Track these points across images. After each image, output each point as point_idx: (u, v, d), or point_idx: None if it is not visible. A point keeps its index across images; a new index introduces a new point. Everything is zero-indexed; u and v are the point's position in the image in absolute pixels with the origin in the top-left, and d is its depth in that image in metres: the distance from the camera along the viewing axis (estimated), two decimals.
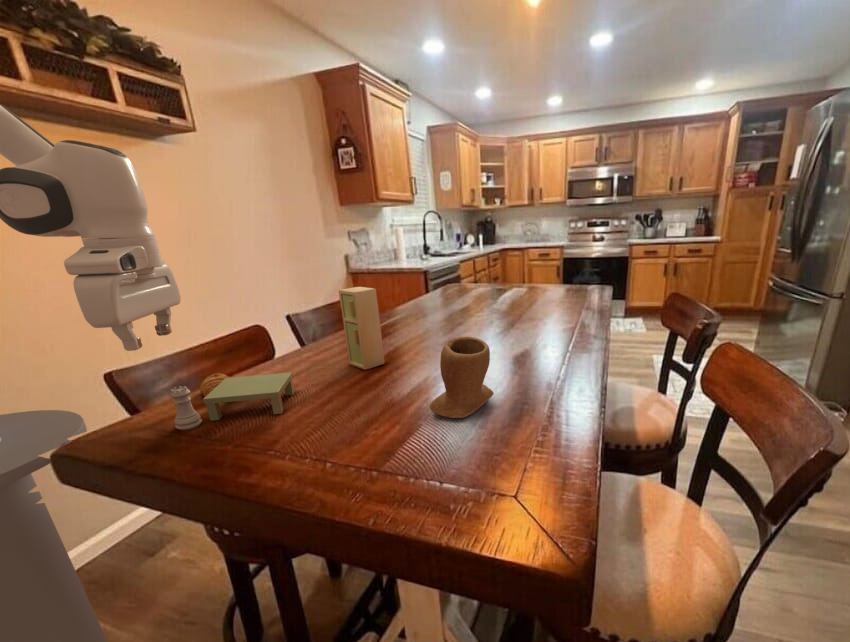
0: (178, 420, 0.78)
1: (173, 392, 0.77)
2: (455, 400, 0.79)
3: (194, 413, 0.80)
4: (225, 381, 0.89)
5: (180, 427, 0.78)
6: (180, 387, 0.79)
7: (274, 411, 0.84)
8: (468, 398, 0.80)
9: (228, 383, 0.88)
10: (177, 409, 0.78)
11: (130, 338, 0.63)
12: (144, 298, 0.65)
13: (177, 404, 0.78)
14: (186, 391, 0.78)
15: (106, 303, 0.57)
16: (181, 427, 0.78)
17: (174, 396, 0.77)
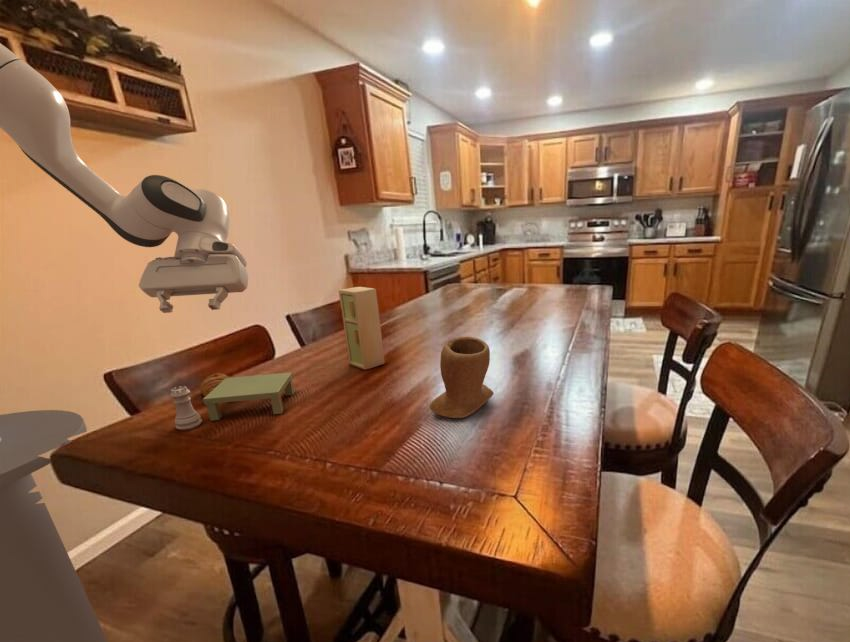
0: (178, 420, 0.78)
1: (173, 392, 0.77)
2: (455, 400, 0.79)
3: (194, 413, 0.80)
4: (225, 381, 0.89)
5: (180, 427, 0.78)
6: (180, 387, 0.79)
7: (274, 411, 0.84)
8: (468, 398, 0.80)
9: (228, 383, 0.88)
10: (177, 409, 0.78)
11: (221, 300, 0.86)
12: None
13: (177, 404, 0.78)
14: (186, 391, 0.78)
15: (247, 278, 0.89)
16: (181, 427, 0.78)
17: (174, 396, 0.77)
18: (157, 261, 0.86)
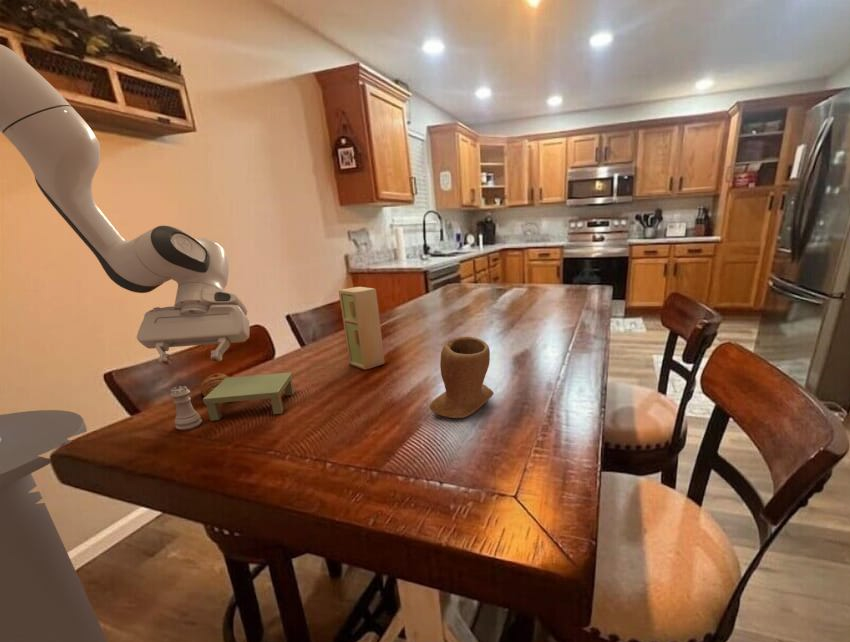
0: (178, 420, 0.78)
1: (173, 392, 0.77)
2: (455, 400, 0.79)
3: (194, 413, 0.80)
4: (225, 381, 0.89)
5: (180, 427, 0.78)
6: (180, 387, 0.79)
7: (274, 411, 0.84)
8: (468, 398, 0.80)
9: (228, 383, 0.88)
10: (177, 409, 0.78)
11: (223, 351, 0.85)
12: None
13: (177, 404, 0.78)
14: (186, 391, 0.78)
15: (248, 327, 0.89)
16: (181, 427, 0.78)
17: (174, 396, 0.77)
18: (156, 312, 0.85)
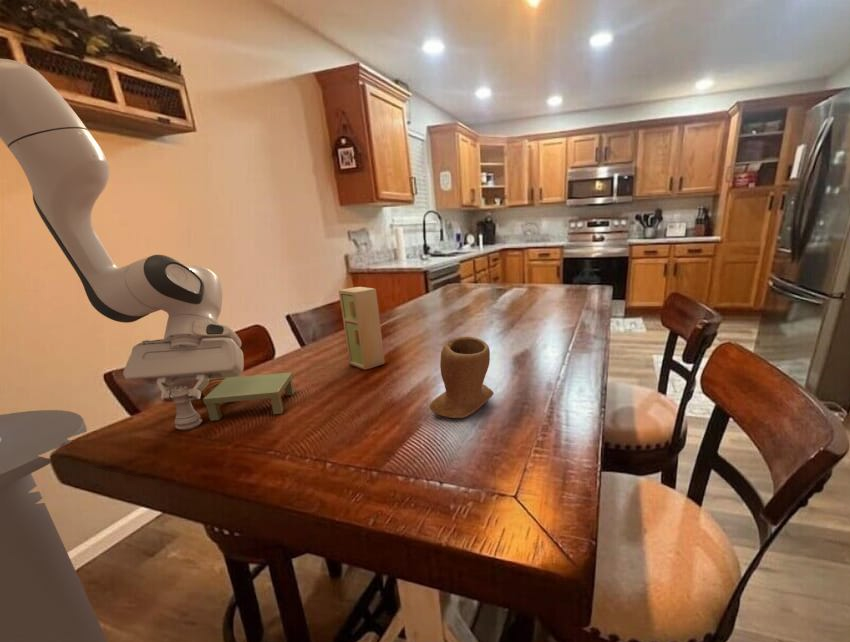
0: (178, 420, 0.78)
1: (173, 392, 0.77)
2: (455, 400, 0.79)
3: (194, 413, 0.80)
4: (225, 381, 0.89)
5: (180, 427, 0.78)
6: (180, 387, 0.79)
7: (274, 411, 0.84)
8: (468, 398, 0.80)
9: (228, 383, 0.88)
10: (177, 409, 0.78)
11: (201, 389, 0.80)
12: None
13: (177, 404, 0.78)
14: (186, 391, 0.78)
15: (242, 360, 0.84)
16: (181, 427, 0.78)
17: (174, 396, 0.77)
18: (144, 346, 0.80)
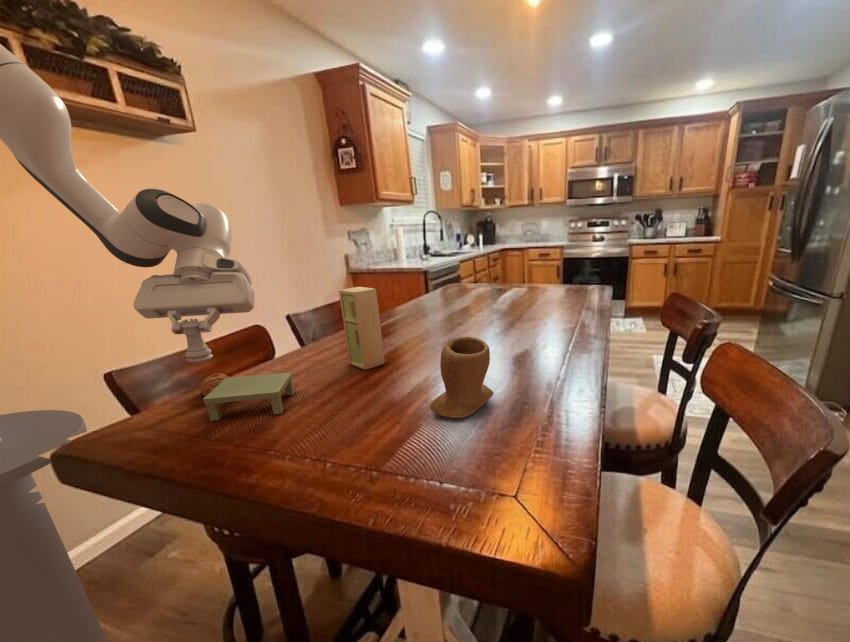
0: (189, 352, 0.77)
1: (184, 323, 0.76)
2: (455, 400, 0.79)
3: (205, 347, 0.79)
4: (225, 381, 0.89)
5: (191, 360, 0.77)
6: (191, 319, 0.78)
7: (274, 411, 0.84)
8: (468, 398, 0.80)
9: (228, 383, 0.88)
10: (188, 341, 0.77)
11: (212, 322, 0.79)
12: None
13: (188, 336, 0.76)
14: (197, 323, 0.77)
15: (253, 297, 0.83)
16: (192, 360, 0.77)
17: (185, 327, 0.76)
18: (154, 279, 0.79)
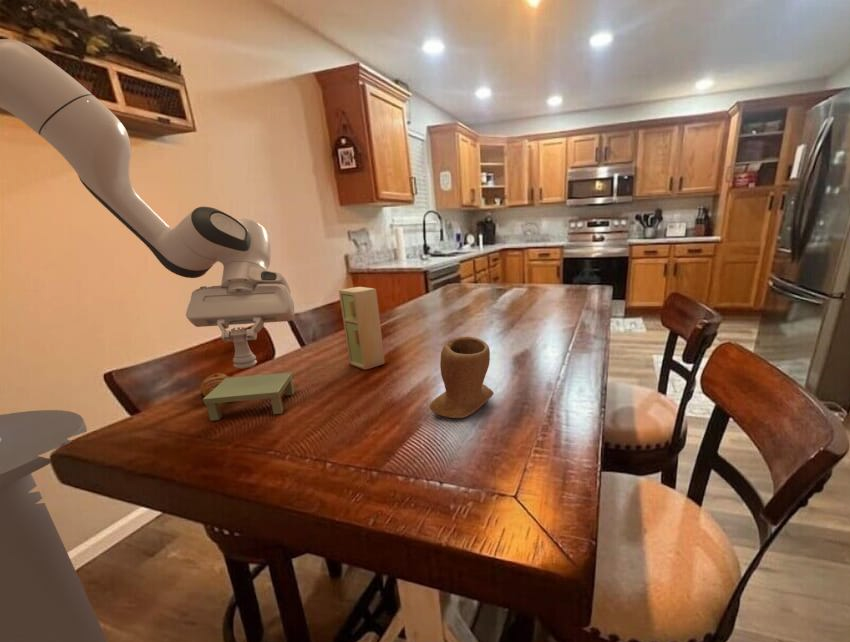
0: (237, 358, 0.83)
1: (233, 331, 0.82)
2: (455, 400, 0.79)
3: (251, 353, 0.85)
4: (225, 381, 0.89)
5: (238, 365, 0.83)
6: (238, 328, 0.84)
7: (274, 411, 0.84)
8: (468, 398, 0.80)
9: (228, 383, 0.88)
10: (236, 348, 0.83)
11: (257, 331, 0.85)
12: None
13: (236, 343, 0.83)
14: (244, 331, 0.83)
15: (293, 307, 0.89)
16: (239, 365, 0.83)
17: (234, 335, 0.82)
18: (203, 290, 0.85)
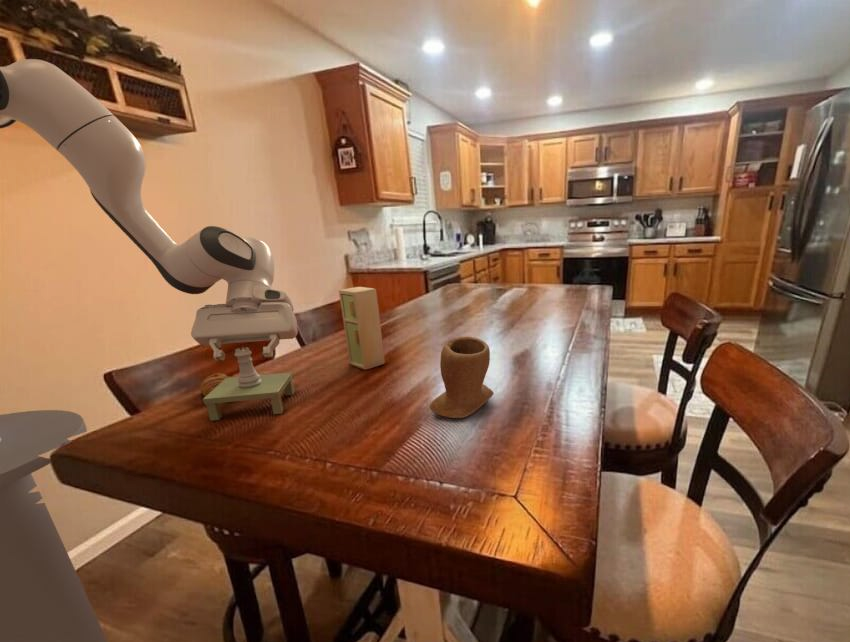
0: (241, 378, 0.85)
1: (238, 352, 0.83)
2: (455, 400, 0.79)
3: (255, 372, 0.86)
4: (225, 381, 0.89)
5: (243, 385, 0.85)
6: (243, 348, 0.85)
7: (274, 411, 0.84)
8: (468, 398, 0.80)
9: (228, 383, 0.88)
10: (240, 368, 0.85)
11: (273, 348, 0.87)
12: None
13: (241, 363, 0.84)
14: (249, 352, 0.85)
15: (296, 324, 0.91)
16: (244, 385, 0.85)
17: (239, 355, 0.83)
18: (208, 309, 0.86)
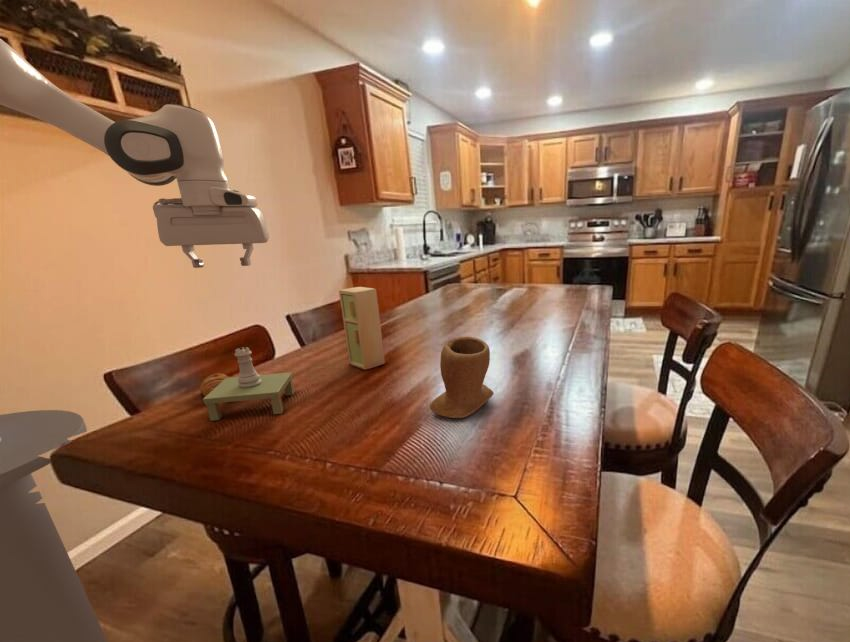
0: (241, 378, 0.85)
1: (238, 352, 0.83)
2: (455, 400, 0.79)
3: (255, 372, 0.86)
4: (225, 381, 0.89)
5: (243, 385, 0.85)
6: (243, 348, 0.85)
7: (274, 411, 0.84)
8: (468, 398, 0.80)
9: (228, 383, 0.88)
10: (240, 368, 0.85)
11: (249, 255, 0.89)
12: None
13: (241, 363, 0.84)
14: (249, 352, 0.85)
15: (266, 225, 0.88)
16: (244, 385, 0.85)
17: (239, 355, 0.83)
18: (166, 210, 0.81)
